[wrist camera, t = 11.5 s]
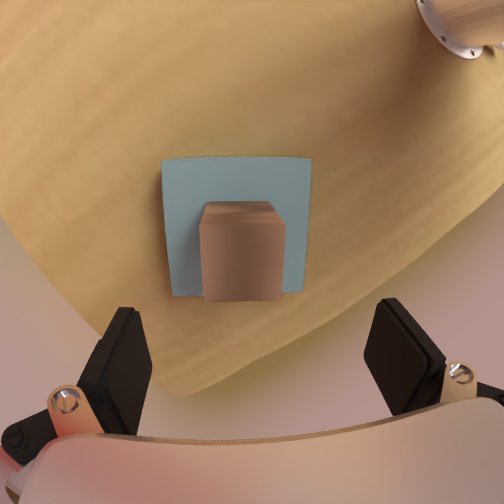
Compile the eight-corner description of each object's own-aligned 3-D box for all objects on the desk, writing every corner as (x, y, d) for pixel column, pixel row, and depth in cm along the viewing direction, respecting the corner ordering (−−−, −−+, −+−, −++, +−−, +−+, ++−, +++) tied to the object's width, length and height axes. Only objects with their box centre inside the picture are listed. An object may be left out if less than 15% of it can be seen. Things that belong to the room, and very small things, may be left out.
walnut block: (268, 200, 24) (285, 225, 17) (266, 258, 25) (281, 299, 19) (206, 201, 23) (199, 226, 17) (208, 259, 25) (203, 301, 18)
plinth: (299, 156, 26) (311, 159, 23) (293, 273, 31) (302, 292, 27) (170, 158, 25) (161, 161, 22) (178, 277, 30) (172, 296, 26)
